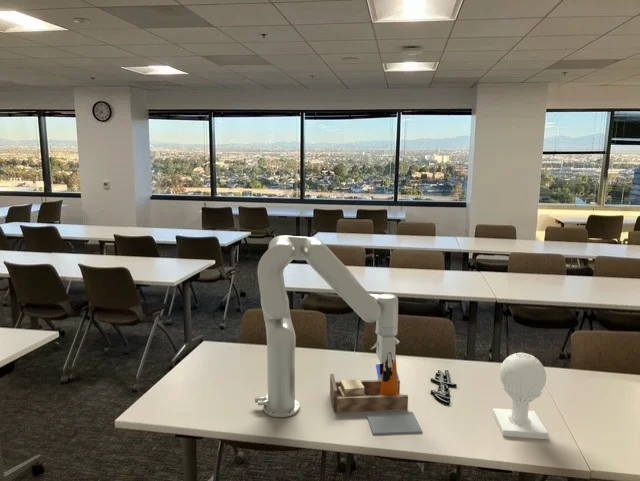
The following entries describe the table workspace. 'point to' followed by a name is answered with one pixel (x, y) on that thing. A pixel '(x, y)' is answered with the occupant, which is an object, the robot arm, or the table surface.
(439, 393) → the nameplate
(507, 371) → the trophy
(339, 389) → the offcut middle
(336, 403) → the wooden box
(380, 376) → the hard drive
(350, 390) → the offcut top
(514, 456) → the table surface
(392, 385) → the spray bottle
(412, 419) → the mat
